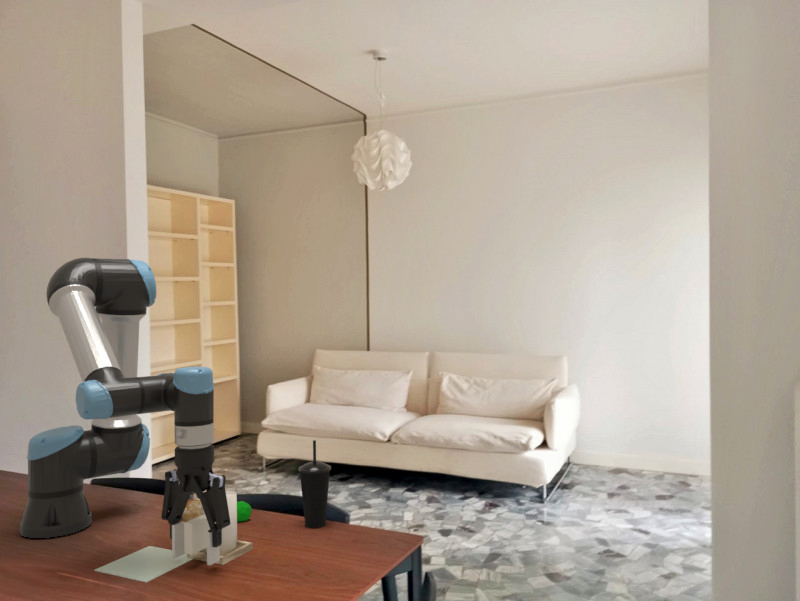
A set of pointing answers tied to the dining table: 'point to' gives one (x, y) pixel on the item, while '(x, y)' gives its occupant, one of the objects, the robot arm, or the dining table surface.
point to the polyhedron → (243, 511)
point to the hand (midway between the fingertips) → (195, 559)
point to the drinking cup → (314, 491)
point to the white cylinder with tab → (199, 526)
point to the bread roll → (192, 510)
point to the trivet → (145, 564)
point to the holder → (241, 549)
